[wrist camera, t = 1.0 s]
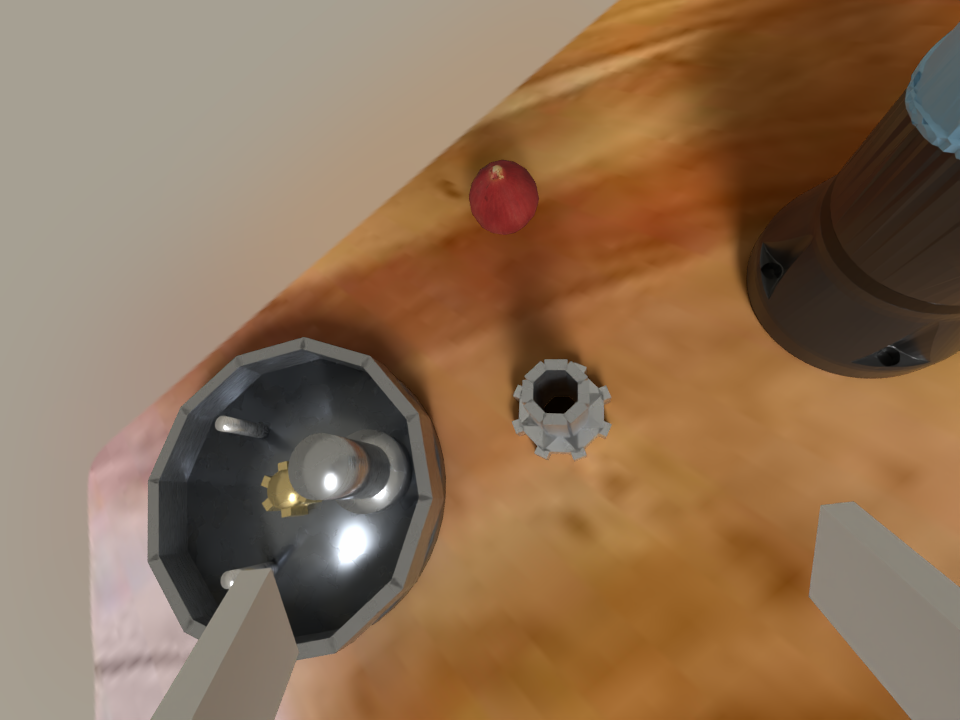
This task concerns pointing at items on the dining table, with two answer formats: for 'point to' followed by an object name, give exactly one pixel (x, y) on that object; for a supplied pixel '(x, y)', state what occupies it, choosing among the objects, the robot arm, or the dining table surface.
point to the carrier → (298, 491)
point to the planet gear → (561, 429)
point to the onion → (503, 197)
